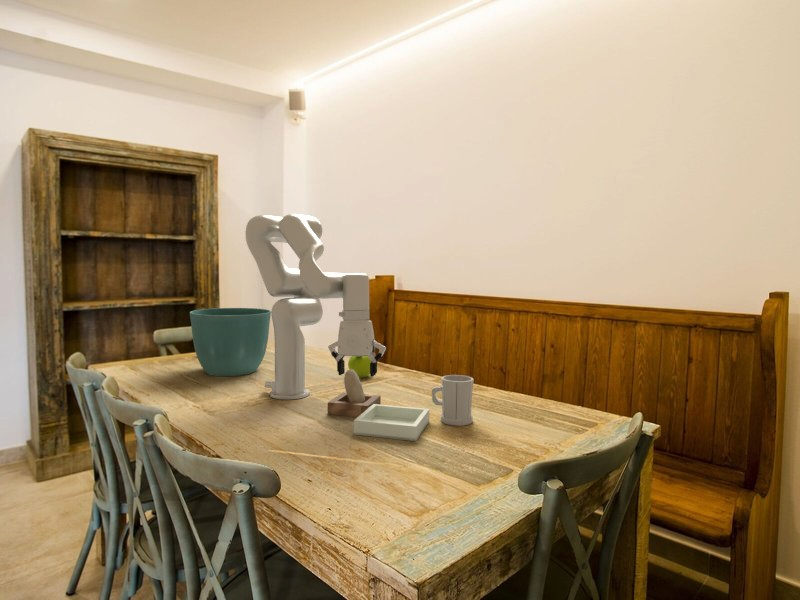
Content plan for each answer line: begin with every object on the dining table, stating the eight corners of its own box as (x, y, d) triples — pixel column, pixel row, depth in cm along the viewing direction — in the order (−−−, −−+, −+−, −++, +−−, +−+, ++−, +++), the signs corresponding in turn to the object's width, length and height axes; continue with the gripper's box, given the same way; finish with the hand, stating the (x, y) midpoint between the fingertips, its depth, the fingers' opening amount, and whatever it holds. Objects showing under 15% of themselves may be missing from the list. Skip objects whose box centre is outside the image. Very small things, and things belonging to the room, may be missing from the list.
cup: (446, 428, 131) (447, 383, 130) (428, 419, 139) (429, 376, 138) (479, 423, 136) (480, 380, 135) (460, 414, 144) (461, 373, 143)
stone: (362, 414, 143) (362, 372, 142) (341, 412, 144) (341, 371, 143) (367, 408, 149) (368, 368, 148) (347, 407, 150) (347, 367, 149)
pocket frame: (327, 414, 142) (327, 402, 142) (343, 403, 154) (343, 392, 153) (367, 418, 139) (367, 405, 139) (380, 406, 151) (380, 395, 150)
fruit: (377, 377, 192) (377, 351, 191) (362, 381, 184) (363, 354, 183) (358, 374, 197) (358, 349, 196) (343, 378, 189) (343, 352, 188)
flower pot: (258, 381, 181) (258, 315, 180) (176, 380, 182) (175, 313, 180) (279, 365, 211) (279, 308, 210) (208, 364, 212) (208, 307, 210)
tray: (353, 434, 125) (353, 420, 125) (373, 416, 141) (373, 404, 140) (415, 441, 121) (416, 426, 121) (429, 421, 137) (429, 409, 136)
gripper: (323, 316, 143) (324, 376, 144) (381, 317, 139) (381, 378, 139) (333, 314, 150) (334, 371, 151) (388, 315, 146) (389, 373, 147)
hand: (357, 375), depth 145 cm, fingers open, 9 cm apart
